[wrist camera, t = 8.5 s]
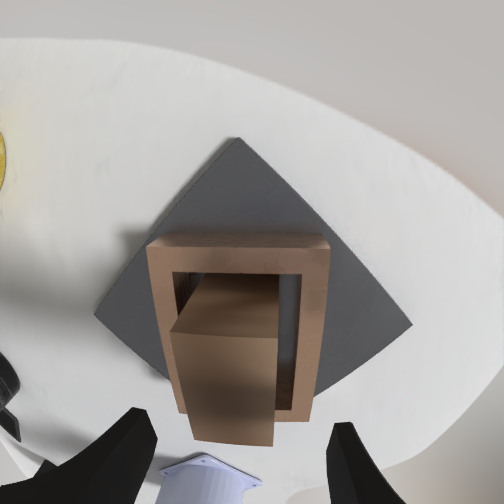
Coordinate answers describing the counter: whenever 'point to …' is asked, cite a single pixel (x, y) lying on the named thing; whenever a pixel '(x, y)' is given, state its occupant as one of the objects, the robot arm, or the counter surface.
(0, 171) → the plant pot
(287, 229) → the duct collar
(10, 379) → the supplement bottle
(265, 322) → the block
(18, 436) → the cell phone
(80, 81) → the counter surface
